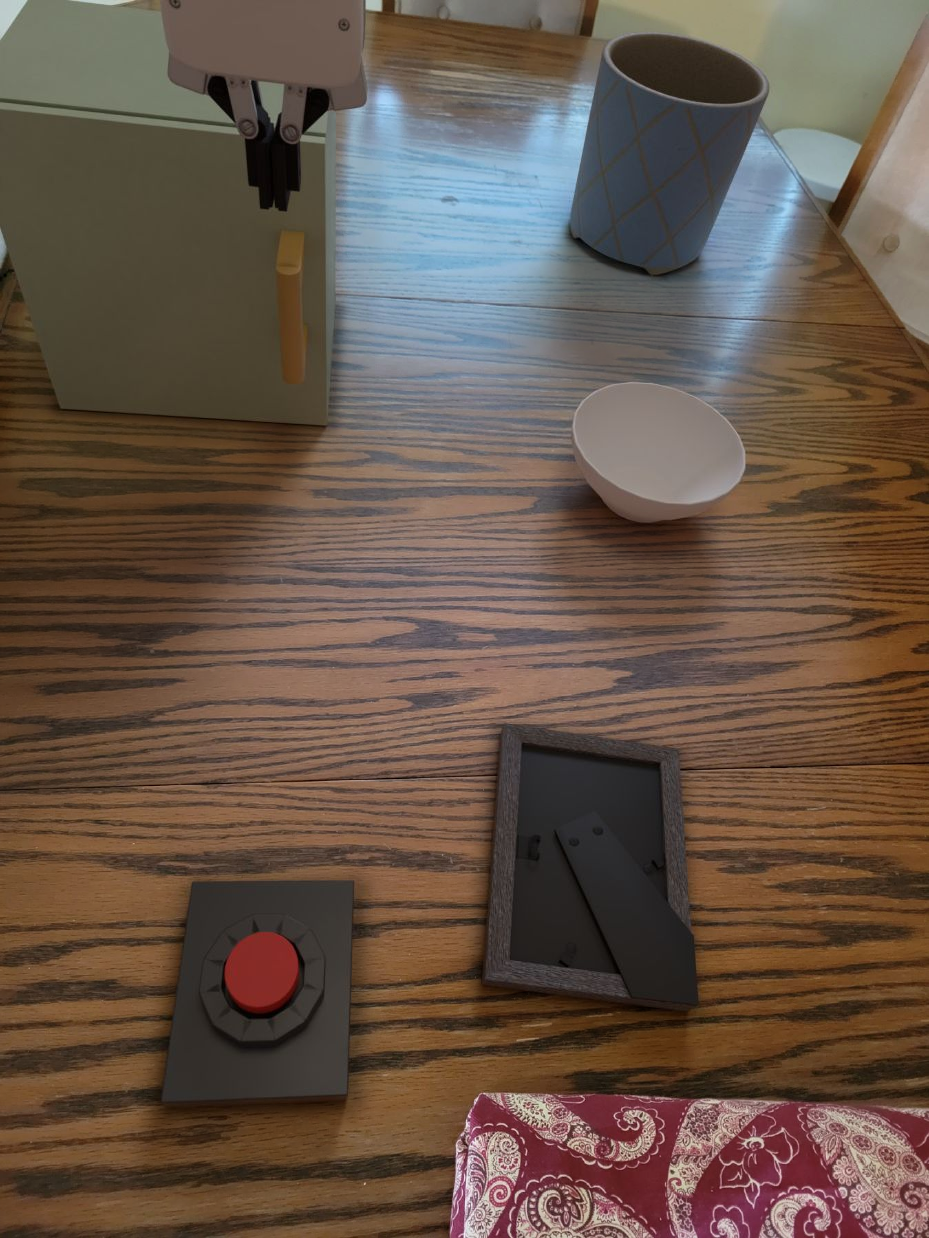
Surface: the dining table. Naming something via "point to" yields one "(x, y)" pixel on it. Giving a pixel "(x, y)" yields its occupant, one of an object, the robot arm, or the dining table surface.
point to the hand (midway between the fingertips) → (276, 198)
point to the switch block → (272, 1042)
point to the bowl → (655, 451)
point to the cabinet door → (165, 267)
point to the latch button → (262, 972)
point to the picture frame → (589, 871)
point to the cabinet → (130, 83)
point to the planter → (663, 146)
